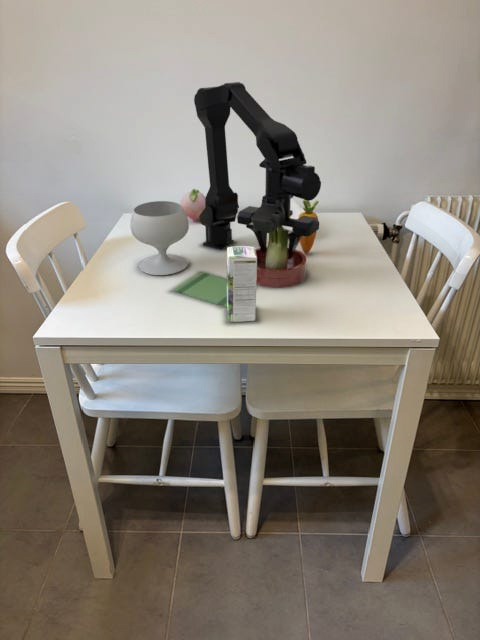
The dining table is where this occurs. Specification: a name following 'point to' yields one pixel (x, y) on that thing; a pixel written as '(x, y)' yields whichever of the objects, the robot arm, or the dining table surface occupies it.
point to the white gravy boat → (294, 213)
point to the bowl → (281, 277)
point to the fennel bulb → (277, 249)
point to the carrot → (309, 241)
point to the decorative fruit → (193, 204)
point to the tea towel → (206, 288)
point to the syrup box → (241, 283)
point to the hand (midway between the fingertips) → (276, 255)
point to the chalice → (160, 234)
